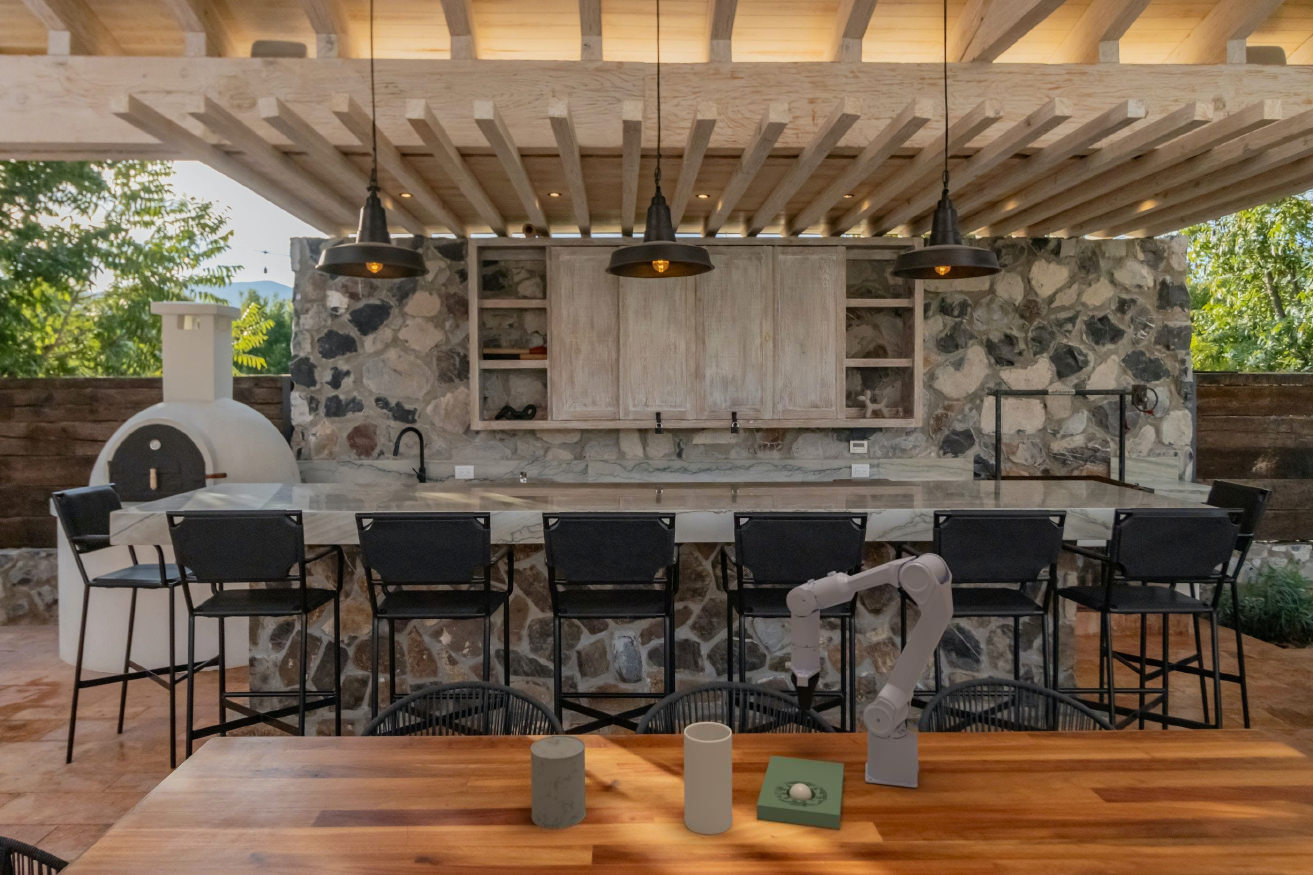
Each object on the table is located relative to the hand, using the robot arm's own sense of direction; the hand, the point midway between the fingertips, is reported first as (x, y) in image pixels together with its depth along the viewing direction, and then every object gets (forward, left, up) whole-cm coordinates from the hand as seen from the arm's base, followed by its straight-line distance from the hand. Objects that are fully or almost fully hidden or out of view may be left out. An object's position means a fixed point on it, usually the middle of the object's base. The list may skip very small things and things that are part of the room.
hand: (805, 708), depth 168 cm
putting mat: (-1, +18, -9) cm, 20 cm away
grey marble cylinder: (+40, +35, -10) cm, 54 cm away
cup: (+14, +31, -10) cm, 35 cm away
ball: (-1, +22, -7) cm, 23 cm away
